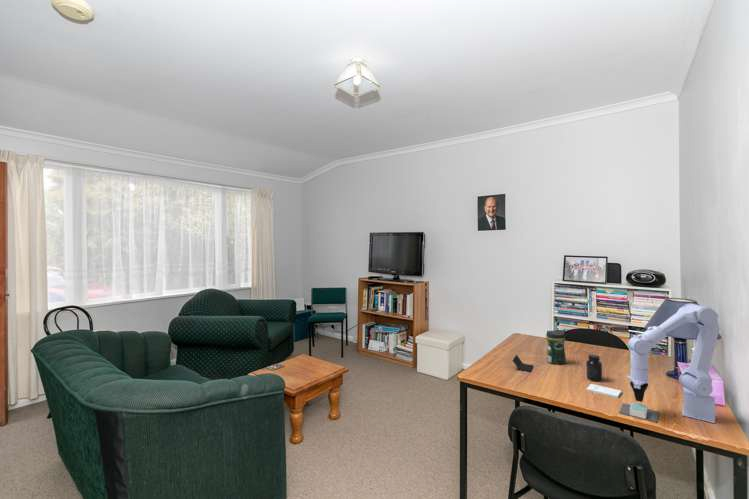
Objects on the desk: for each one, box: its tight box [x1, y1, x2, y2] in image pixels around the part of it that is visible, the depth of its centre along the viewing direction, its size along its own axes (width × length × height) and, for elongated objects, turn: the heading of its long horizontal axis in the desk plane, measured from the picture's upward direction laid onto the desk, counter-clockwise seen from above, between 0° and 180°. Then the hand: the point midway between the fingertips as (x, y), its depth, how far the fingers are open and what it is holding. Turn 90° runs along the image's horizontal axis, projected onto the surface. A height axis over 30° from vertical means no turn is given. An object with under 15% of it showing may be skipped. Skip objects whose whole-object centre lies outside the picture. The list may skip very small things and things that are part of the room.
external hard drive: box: [586, 383, 623, 399], centre depth 165 cm, size 2×8×12 cm
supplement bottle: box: [585, 354, 603, 383], centre depth 180 cm, size 7×7×12 cm
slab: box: [630, 402, 648, 420], centre depth 142 cm, size 5×3×7 cm
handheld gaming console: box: [512, 354, 534, 373], centre depth 197 cm, size 12×7×10 cm
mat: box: [618, 402, 660, 423], centre depth 144 cm, size 12×11×1 cm
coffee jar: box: [545, 330, 567, 365], centre depth 205 cm, size 10×8×19 cm
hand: (639, 400), depth 144 cm, fingers closed
